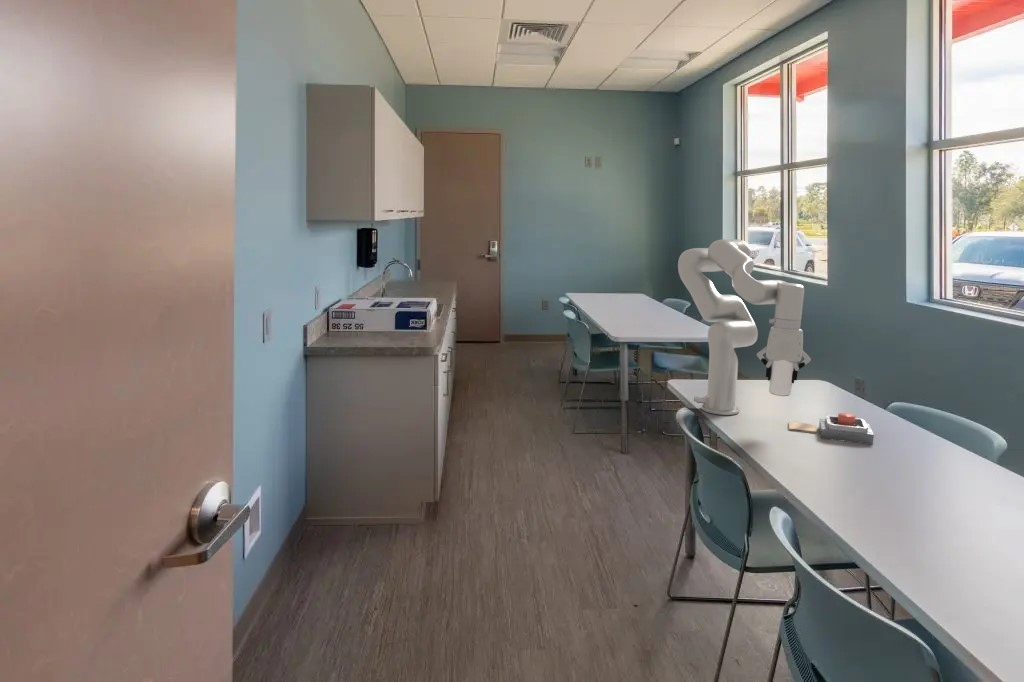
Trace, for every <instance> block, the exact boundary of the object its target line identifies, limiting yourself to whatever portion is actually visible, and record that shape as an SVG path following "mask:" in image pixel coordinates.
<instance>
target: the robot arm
mask: <svg viewBox="0 0 1024 682" xmlns="http://www.w3.org/2000/svg"><path fill="white" fill-rule="evenodd" d="M754 267H755V263H754V259H752V258H751V248H750V246H749V244H748V243H747V242H746V241H745V240H743V239H735V238H734V239H731V238H729V239H723V238H722V239H718V240H714V241H713V242H712V243H711V244H710V245H709V246H708V247H702V248H701V247H696V248H695V247H693V248H690V249H686V250H684V251H682V252H681V254H680V255H679V258H678V262H677V269H678V271H677V272H678V274H679V278H680V280H681V281H682V283H683V284H684V287H685V288H686V289H687V291H688V292H689V294H690V295H691V298H692V300H693V302H694V304H695V306H696V308H697V310H698V312H699V313H700V315H701V317H702V319H703V320H704V321H706V322H709V323H712V324H711V325H710V326H709V328H708V330H707V341H708V349H709V352H708V353H709V355H708V357H709V358H708V374H707V376H708V377H707V391H706V393H707V394H706V396H703V397H702V396H698V395H697V396H693V402H696V404H702V405H701V410H702V411H704V412H706V413H708V414H714V415H717V416H731V415H732V416H733V415H737V414H740V409H741V408H740V407H738V406H737V405H736V401H737V399H736V398H737V397H736V396H737V384H738V383H737V382H738V370H739V369H738V367H739V359H738V355H737V354H736V351H735V349H737V348H743V347H744V348H745V347H750V346H753V345H754V344H755V343H756V342H757V340H758V337H759V336H758V335H759V331H758V328H757V325H756V322H755V321H754V319H753V317H752V316H751V314H750V312H749V310H748V308H747V306H746V304H745V302H743V300H744V301H746V302H747V303H749V304H752V305H755V306H761V305H775V311H774V317H773V318H769V320H768V323H769V324H772V325H773V326H771V327H770V329H769V333H768V336H767V337H768V338H767V342H766V343H767V344H766V346H765V347H763V348H762V349H761V350H759V351H758V352H756V357H757V358H758V359H759V360H760V362H761V363H762V365H764V366H765V367H766V368H765V369H766V370H765V378H767V381H768V382H770V377H771V366H772V362H773V360H774V361H779V360H786V361H788V362H794V364H793V365H794V371H793V374H792V384H795V381H797V380H798V373H799V370H800V369H802V368H804V367H805V366H806V365H807V364H809V363H810V362H812V361H811V360H812V358H811V357H810V356H809V354H807V353H806V352H805V351H804V348H803V347H804V331H803V329H801V324H802V315H803V307H804V306H803V305H804V299H805V298H804V297H805V287H804V285H802V284H799V283H793V282H787V281H784V280H781V279H763V280H762V279H761V280H757V279H755V278H754V277H752V276H751V274H752V272H753V271H754ZM722 271H724V272H725V274H727V275H728V276H730V278H731V285H732V287H733V289H734V292H736V293H737V295H738V296H737V295H735V294H721V293H719V292H718V290H717V289H716V287H715V285H714V282H713V281H712V280H711V279H710V278H708V277H707V275H704V273H707V272H708V273H710V272H712V273H714V272H715V273H716V272H722ZM740 297H741V298H740ZM742 299H743V300H742ZM764 355H765V357H764ZM802 358H803V359H804V360H802ZM801 360H802V361H801Z"/></svg>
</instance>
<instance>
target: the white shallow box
mask: <svg viewBox="0 0 1024 682" xmlns="http://www.w3.org/2000/svg"><path fill="white" fill-rule="evenodd" d="M837 422H838V415H828V414H827V415H825V417H824V418H819V425H818V429H819V435H820V439H822V438H824V439H823V440H830V439H833V441H839V440H844V441H843V442H848V441H852V442H851V443H857V442H862V443H861V444H865V443H869V444H868V445H873V444H874V437H875V433H874V432H873V430H872V427H871V425H870V423H867V422H866V420H865V419H863V418H858V417H856V418H855V426H847V425H838V424H837Z"/></svg>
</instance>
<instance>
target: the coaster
mask: <svg viewBox="0 0 1024 682" xmlns="http://www.w3.org/2000/svg"><path fill="white" fill-rule="evenodd" d="M791 430H792V432H802V433H803V432H804V433H809V432H811V433H810V434H817V432H818V429H817V424H813V423H806V422H805V423H804V422H794V421H788V431H791Z"/></svg>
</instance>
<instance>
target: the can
mask: <svg viewBox="0 0 1024 682" xmlns="http://www.w3.org/2000/svg"><path fill="white" fill-rule="evenodd" d="M793 364H794V362H788V361H786V360H779V361H774V360H773V362H772V364H771V377H770V380H769V387H768V392H769V393H770V394H771V395H774V396H779V397H789V396H790V395H791V394H792V388H793V383H792V374H793V371H794V365H793Z"/></svg>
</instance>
